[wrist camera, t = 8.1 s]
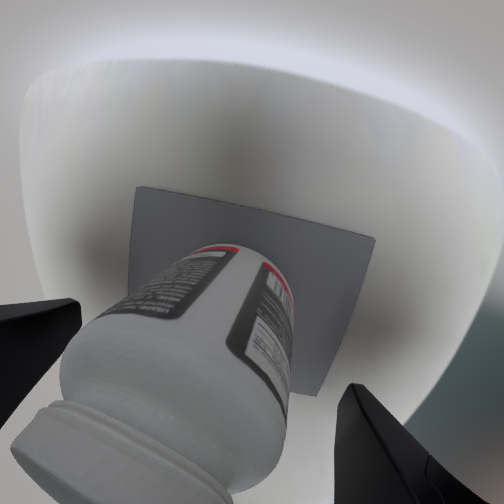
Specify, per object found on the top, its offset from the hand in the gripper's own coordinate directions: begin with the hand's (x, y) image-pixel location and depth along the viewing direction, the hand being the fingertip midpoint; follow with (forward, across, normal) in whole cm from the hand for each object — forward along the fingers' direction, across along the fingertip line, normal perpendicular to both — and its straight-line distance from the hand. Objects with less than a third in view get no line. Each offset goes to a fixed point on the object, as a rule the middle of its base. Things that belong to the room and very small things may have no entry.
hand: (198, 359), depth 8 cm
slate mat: (+4, 0, 0) cm, 4 cm away
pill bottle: (+4, 0, 0) cm, 4 cm away
